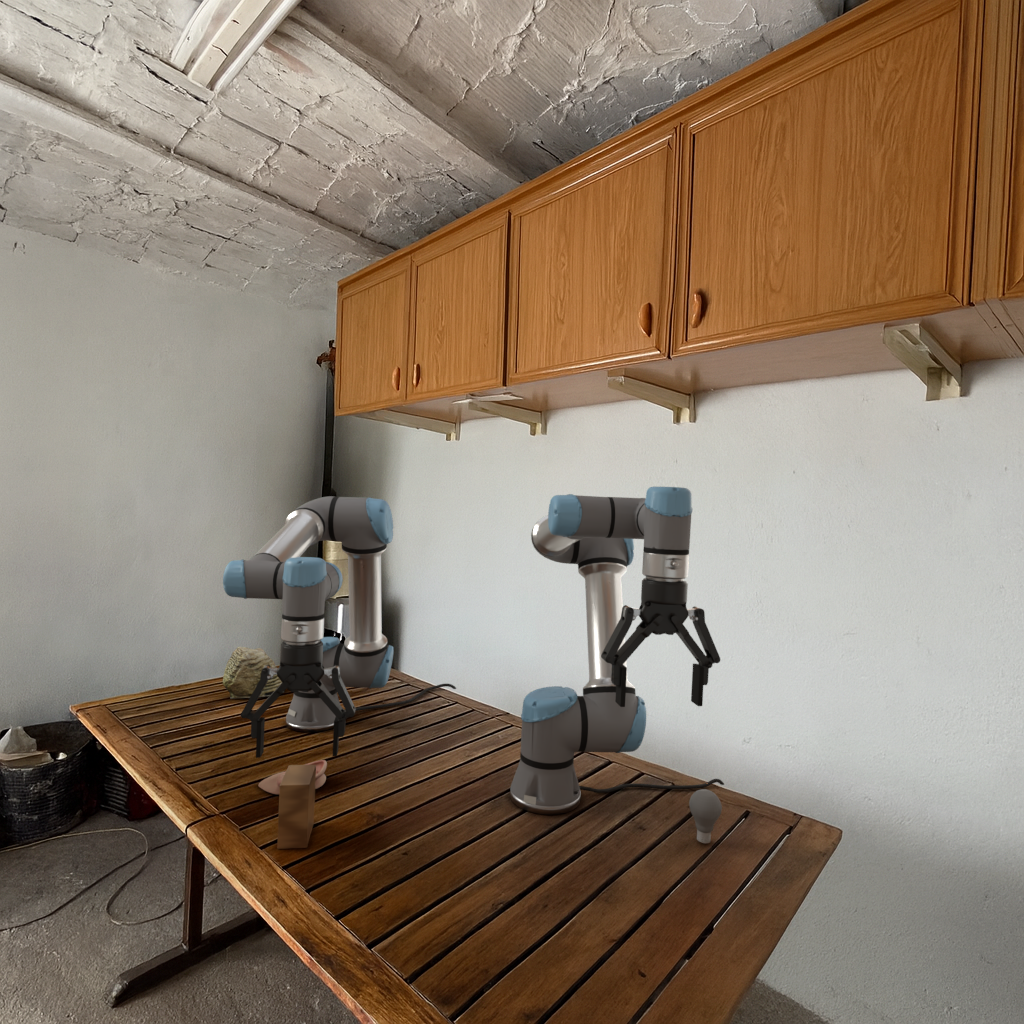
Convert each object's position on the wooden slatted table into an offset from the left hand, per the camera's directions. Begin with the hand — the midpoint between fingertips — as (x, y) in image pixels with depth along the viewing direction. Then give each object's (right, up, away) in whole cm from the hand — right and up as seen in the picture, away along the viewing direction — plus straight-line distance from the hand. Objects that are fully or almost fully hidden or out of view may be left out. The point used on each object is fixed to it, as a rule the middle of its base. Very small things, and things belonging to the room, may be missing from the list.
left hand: (297, 754), depth 118 cm
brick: (0, -15, 0) cm, 15 cm away
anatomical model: (-8, -15, +21) cm, 27 cm away
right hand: (+65, +13, -11) cm, 67 cm away
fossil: (-41, -12, +80) cm, 90 cm away
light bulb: (+77, -19, +4) cm, 79 cm away
